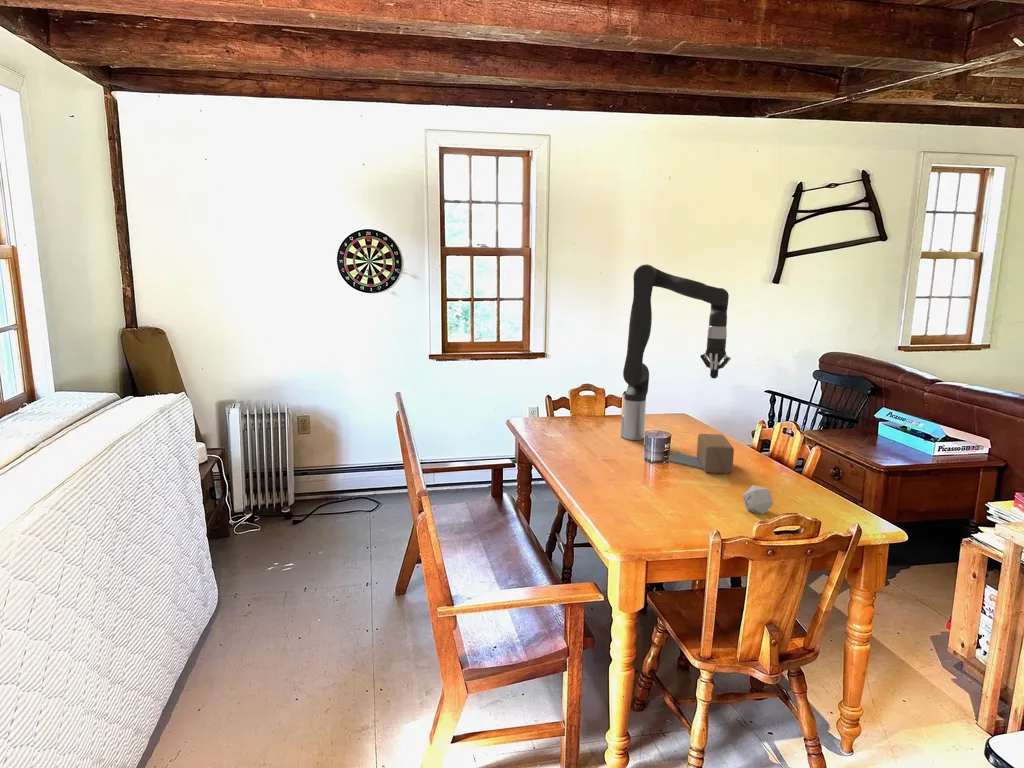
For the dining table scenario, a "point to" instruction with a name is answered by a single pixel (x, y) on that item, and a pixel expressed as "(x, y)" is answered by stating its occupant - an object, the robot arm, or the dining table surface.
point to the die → (758, 499)
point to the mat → (685, 460)
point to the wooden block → (715, 453)
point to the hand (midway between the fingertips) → (713, 378)
